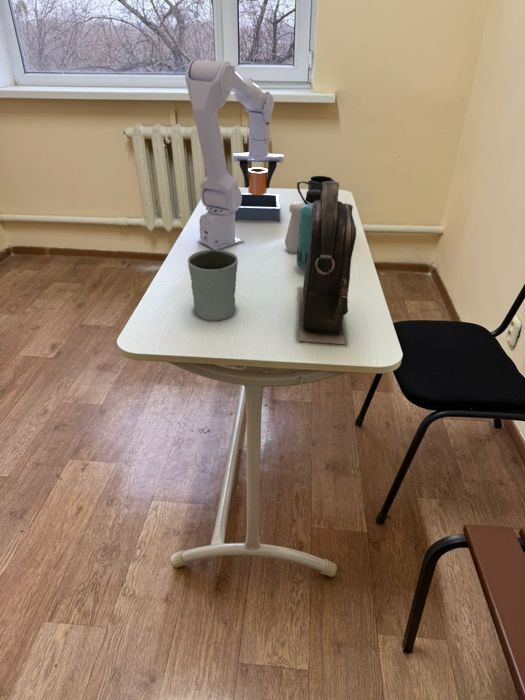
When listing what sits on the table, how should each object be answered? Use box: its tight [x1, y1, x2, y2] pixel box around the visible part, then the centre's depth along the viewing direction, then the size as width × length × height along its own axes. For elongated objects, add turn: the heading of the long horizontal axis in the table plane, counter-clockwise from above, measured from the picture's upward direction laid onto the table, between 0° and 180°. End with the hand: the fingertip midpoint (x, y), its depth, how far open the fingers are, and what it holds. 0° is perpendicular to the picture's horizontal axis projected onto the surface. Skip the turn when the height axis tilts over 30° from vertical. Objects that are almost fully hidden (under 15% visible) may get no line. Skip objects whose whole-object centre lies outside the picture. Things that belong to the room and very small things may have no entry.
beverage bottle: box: [296, 190, 322, 271], centre depth 114 cm, size 6×7×20 cm
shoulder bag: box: [298, 180, 357, 345], centre depth 94 cm, size 23×9×28 cm, turn 176°
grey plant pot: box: [187, 249, 239, 322], centre depth 99 cm, size 10×10×12 cm
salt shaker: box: [284, 201, 305, 254], centre depth 126 cm, size 6×6×13 cm
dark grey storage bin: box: [235, 192, 281, 222], centre depth 151 cm, size 14×14×4 cm
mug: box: [296, 175, 335, 205], centre depth 155 cm, size 8×12×10 cm
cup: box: [247, 167, 268, 195], centre depth 142 cm, size 6×6×6 cm
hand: (257, 186), depth 143 cm, fingers closed on cup, 5 cm apart
